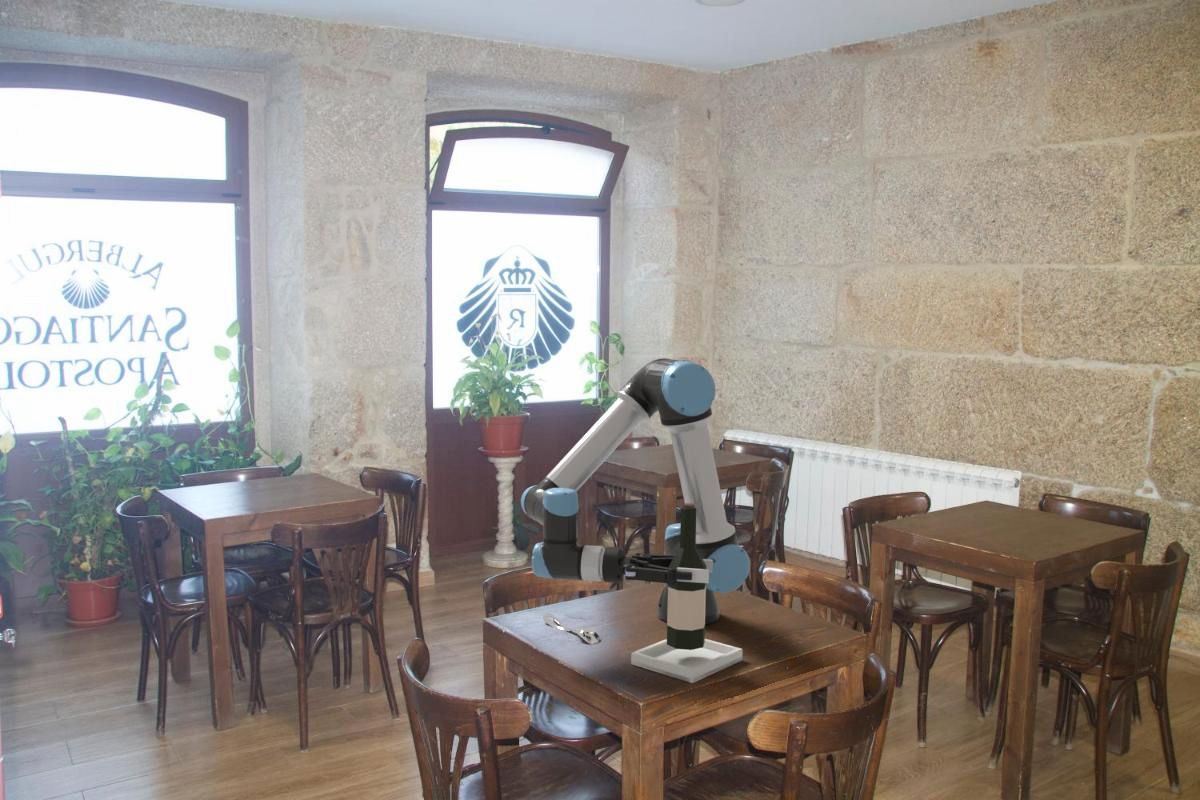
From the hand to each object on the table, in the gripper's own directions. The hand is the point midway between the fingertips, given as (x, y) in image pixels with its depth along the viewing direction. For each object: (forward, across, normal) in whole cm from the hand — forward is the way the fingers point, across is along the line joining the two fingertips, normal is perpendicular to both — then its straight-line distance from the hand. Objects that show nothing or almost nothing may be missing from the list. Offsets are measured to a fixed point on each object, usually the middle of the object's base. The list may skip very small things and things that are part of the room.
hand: (710, 571), depth 213 cm
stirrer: (-34, -15, -21) cm, 42 cm away
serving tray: (-4, 0, -20) cm, 21 cm away
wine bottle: (-5, 0, -16) cm, 17 cm away
